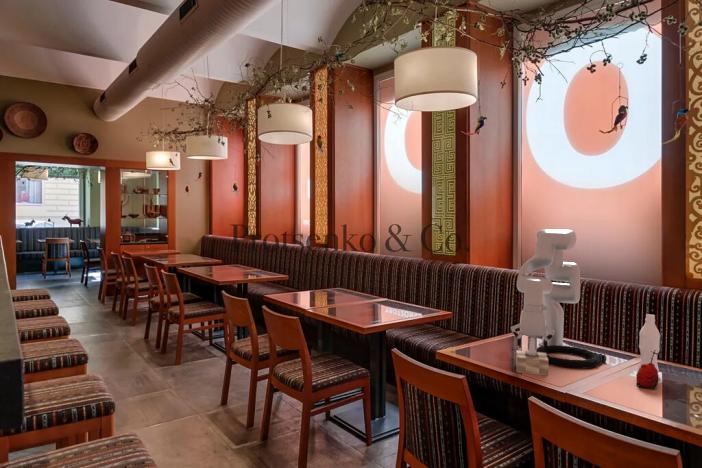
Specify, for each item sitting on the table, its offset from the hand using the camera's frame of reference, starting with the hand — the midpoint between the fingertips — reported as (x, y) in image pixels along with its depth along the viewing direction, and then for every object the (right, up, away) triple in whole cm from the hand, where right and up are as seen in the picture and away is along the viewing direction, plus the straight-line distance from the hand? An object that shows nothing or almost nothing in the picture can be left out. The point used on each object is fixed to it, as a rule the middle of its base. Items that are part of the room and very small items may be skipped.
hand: (532, 348), depth 201 cm
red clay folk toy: (+37, -10, -19) cm, 43 cm away
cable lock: (+23, -9, +15) cm, 29 cm away
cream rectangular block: (0, -9, 0) cm, 9 cm away
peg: (0, -9, 0) cm, 9 cm away
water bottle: (+45, -10, -6) cm, 47 cm away
